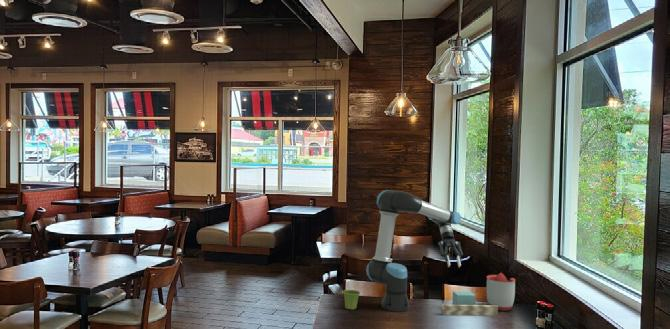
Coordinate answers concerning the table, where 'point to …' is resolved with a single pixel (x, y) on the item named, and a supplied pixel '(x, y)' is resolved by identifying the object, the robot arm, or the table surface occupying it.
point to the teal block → (463, 298)
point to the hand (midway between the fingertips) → (454, 265)
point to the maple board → (470, 310)
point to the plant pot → (351, 298)
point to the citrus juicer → (500, 291)
